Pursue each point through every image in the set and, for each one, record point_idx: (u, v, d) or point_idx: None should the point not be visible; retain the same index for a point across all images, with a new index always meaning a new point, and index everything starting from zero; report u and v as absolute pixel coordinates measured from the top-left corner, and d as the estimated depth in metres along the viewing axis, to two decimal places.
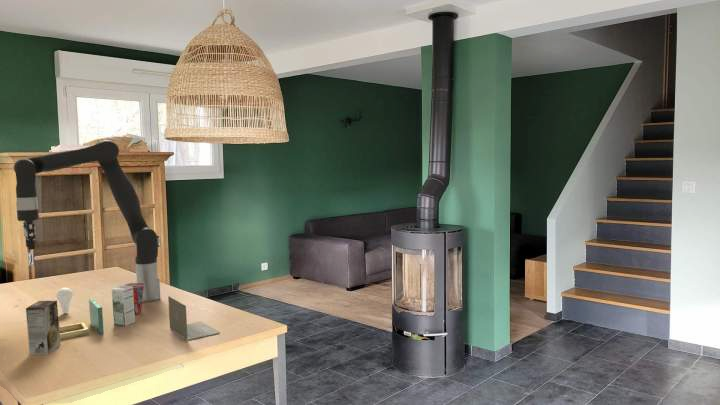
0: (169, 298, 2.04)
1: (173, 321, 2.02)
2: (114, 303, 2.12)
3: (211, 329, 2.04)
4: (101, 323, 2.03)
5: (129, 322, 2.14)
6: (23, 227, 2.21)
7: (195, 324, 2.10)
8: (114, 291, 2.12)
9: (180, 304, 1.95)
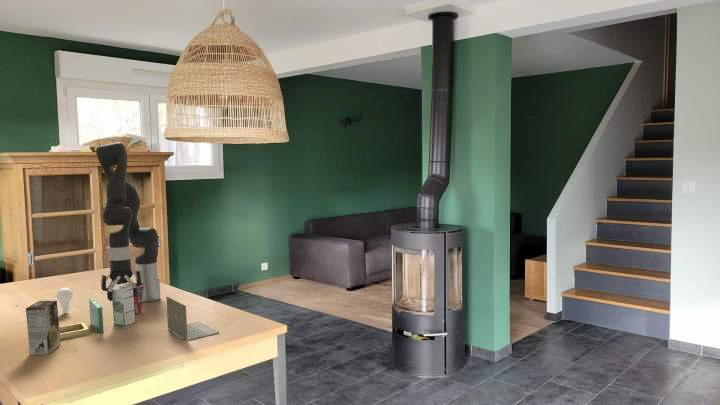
0: (167, 298, 2.04)
1: (172, 321, 2.02)
2: (114, 303, 2.12)
3: (210, 329, 2.04)
4: (101, 323, 2.03)
5: (129, 322, 2.14)
6: (120, 278, 2.12)
7: (193, 324, 2.10)
8: (114, 291, 2.12)
9: (179, 304, 1.95)
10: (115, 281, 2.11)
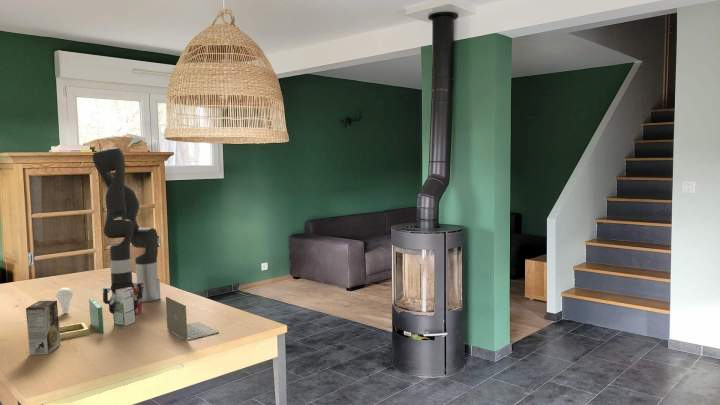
0: (167, 299, 2.04)
1: (172, 321, 2.02)
2: (114, 303, 2.12)
3: (210, 329, 2.04)
4: (101, 323, 2.03)
5: (129, 322, 2.14)
6: None
7: (192, 324, 2.10)
8: None
9: (179, 304, 1.95)
10: (116, 294, 2.11)
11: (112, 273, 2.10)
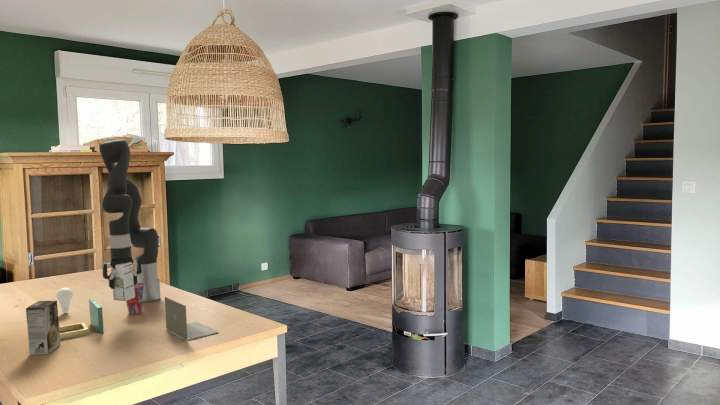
0: (166, 299, 2.04)
1: (171, 322, 2.01)
2: (114, 278, 2.12)
3: (209, 329, 2.04)
4: (101, 323, 2.03)
5: (129, 297, 2.13)
6: None
7: (191, 324, 2.10)
8: None
9: (179, 304, 1.95)
10: (116, 269, 2.11)
11: (111, 248, 2.09)
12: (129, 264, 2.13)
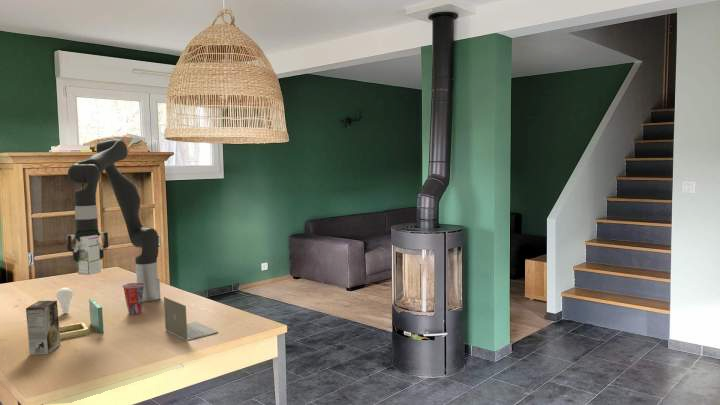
0: (165, 299, 2.03)
1: (170, 322, 2.01)
2: (78, 251, 2.03)
3: (208, 329, 2.04)
4: (101, 323, 2.03)
5: (94, 272, 2.05)
6: None
7: (191, 324, 2.10)
8: None
9: (179, 304, 1.95)
10: (81, 241, 2.02)
11: (76, 219, 2.02)
12: (95, 237, 2.05)
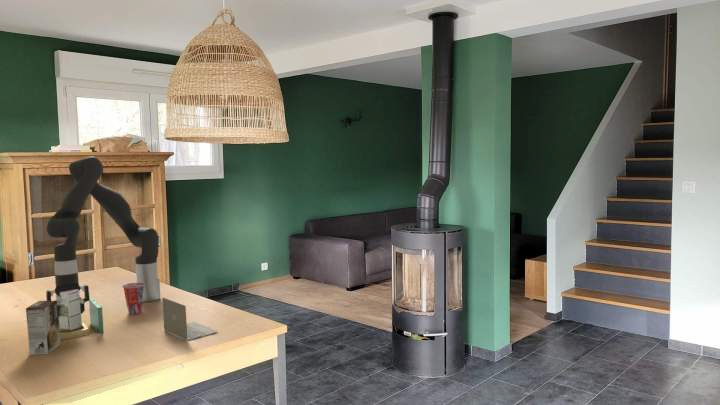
0: (164, 299, 2.03)
1: (169, 322, 2.01)
2: (58, 306, 2.01)
3: (208, 329, 2.04)
4: (101, 323, 2.03)
5: (75, 326, 2.02)
6: None
7: (189, 325, 2.10)
8: None
9: (178, 304, 1.95)
10: None
11: (56, 275, 1.99)
12: (75, 291, 2.02)
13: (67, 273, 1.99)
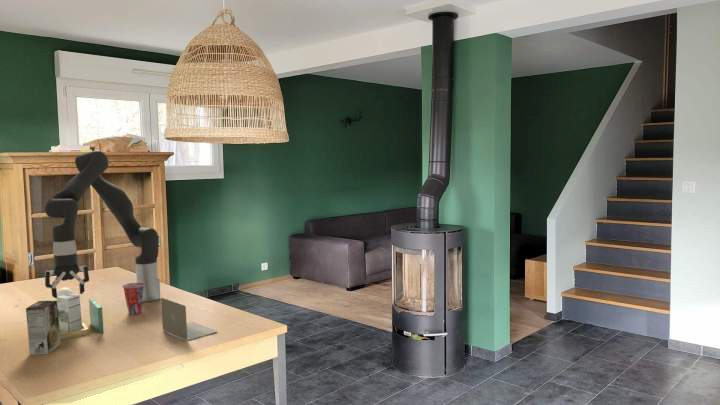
0: (162, 299, 2.03)
1: (168, 322, 2.01)
2: (59, 312, 2.01)
3: (207, 329, 2.04)
4: (101, 323, 2.03)
5: None
6: (65, 274, 2.00)
7: (188, 325, 2.09)
8: (59, 299, 2.01)
9: (178, 305, 1.94)
10: (60, 277, 1.99)
11: (55, 255, 1.98)
12: (76, 297, 2.03)
13: (66, 253, 1.98)
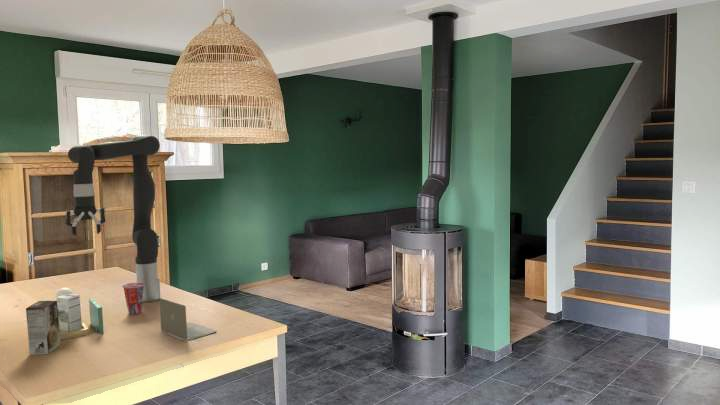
0: (161, 300, 2.02)
1: (167, 323, 2.00)
2: (59, 312, 2.01)
3: (206, 329, 2.04)
4: (101, 323, 2.03)
5: None
6: (84, 214, 2.21)
7: None
8: (59, 299, 2.01)
9: (177, 305, 1.94)
10: (79, 217, 2.20)
11: (75, 196, 2.19)
12: (76, 297, 2.03)
13: (85, 195, 2.19)
